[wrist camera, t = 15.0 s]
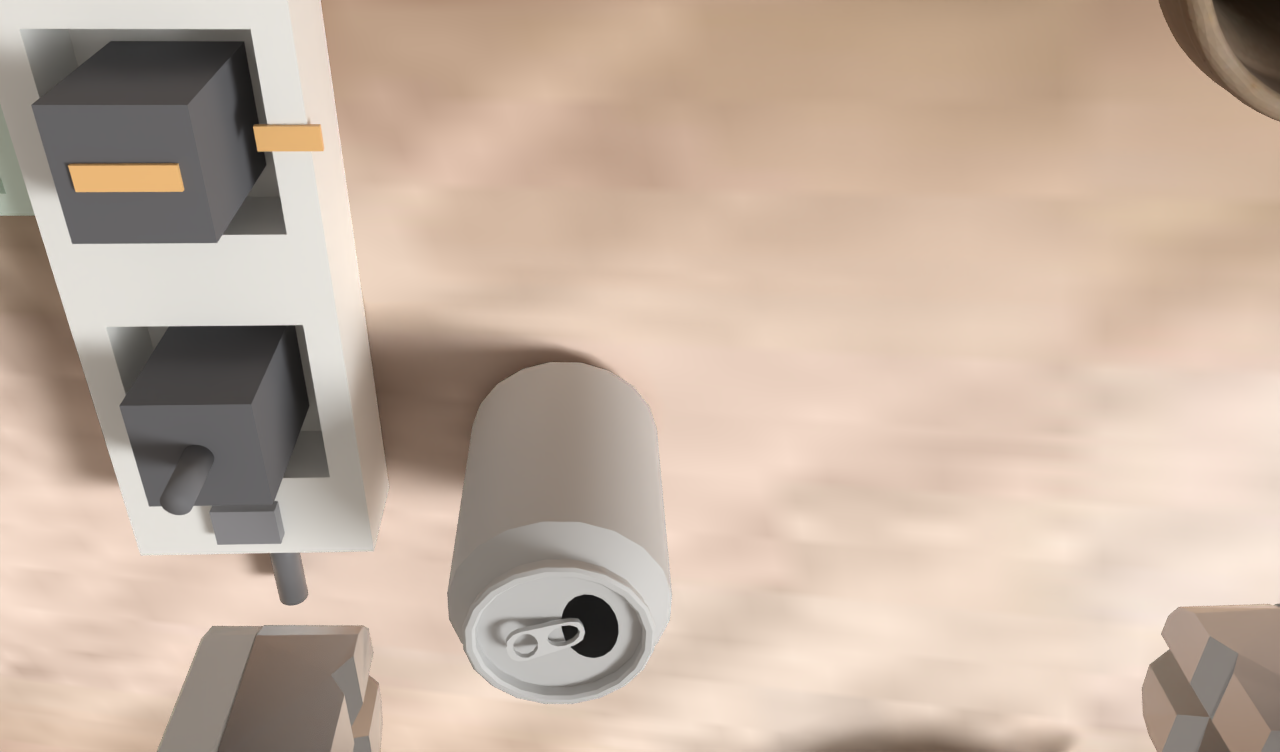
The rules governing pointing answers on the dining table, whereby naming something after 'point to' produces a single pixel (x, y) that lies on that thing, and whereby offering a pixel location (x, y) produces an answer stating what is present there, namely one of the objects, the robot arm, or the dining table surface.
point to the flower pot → (1233, 46)
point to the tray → (11, 178)
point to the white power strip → (222, 271)
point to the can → (561, 536)
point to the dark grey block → (152, 141)
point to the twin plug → (216, 415)
